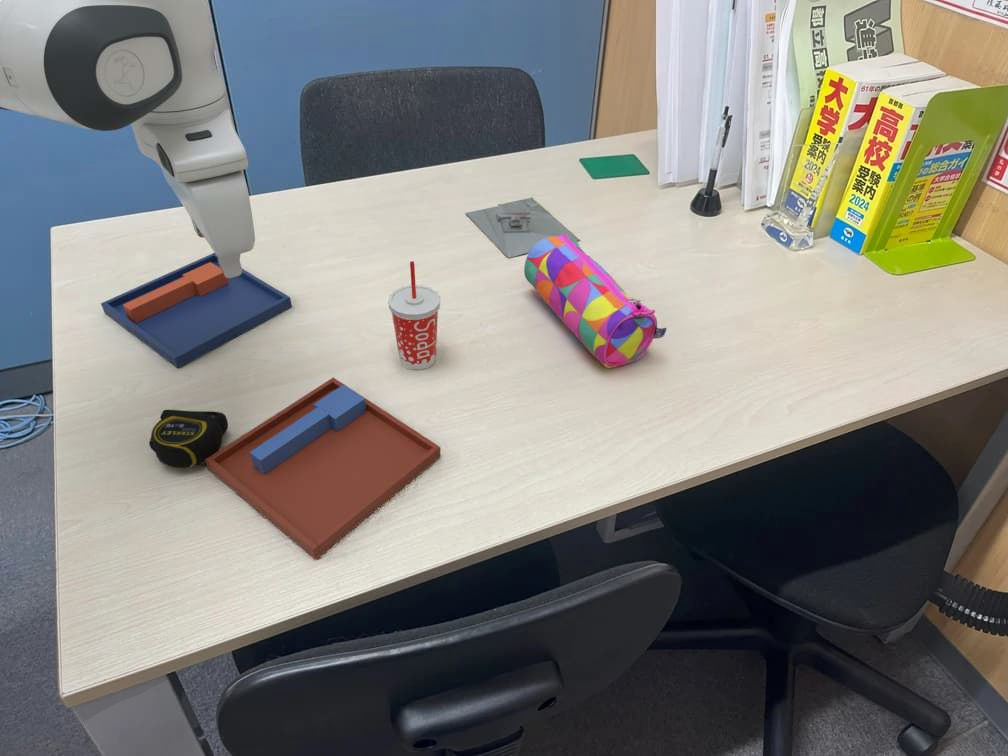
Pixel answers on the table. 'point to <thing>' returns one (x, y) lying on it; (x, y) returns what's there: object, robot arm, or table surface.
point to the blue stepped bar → (310, 427)
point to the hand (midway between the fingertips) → (218, 253)
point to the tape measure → (187, 437)
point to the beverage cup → (415, 323)
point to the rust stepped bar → (176, 292)
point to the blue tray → (200, 314)
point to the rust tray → (326, 471)
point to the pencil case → (590, 302)
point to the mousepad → (518, 225)
